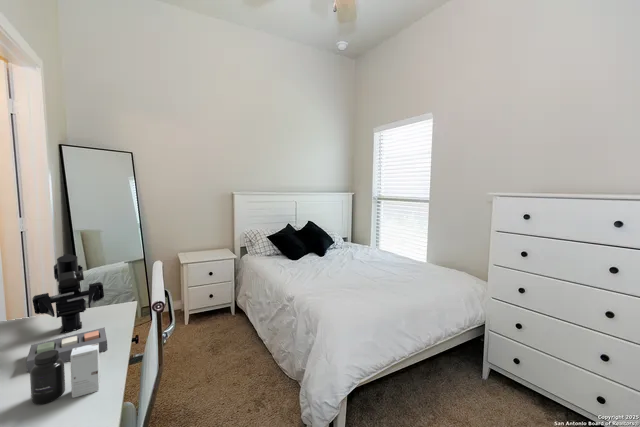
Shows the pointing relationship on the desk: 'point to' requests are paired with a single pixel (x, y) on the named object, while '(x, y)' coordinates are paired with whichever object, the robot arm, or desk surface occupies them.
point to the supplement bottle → (47, 378)
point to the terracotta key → (91, 335)
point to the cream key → (69, 341)
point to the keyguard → (66, 351)
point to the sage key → (45, 347)
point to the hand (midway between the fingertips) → (72, 310)
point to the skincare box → (85, 370)
